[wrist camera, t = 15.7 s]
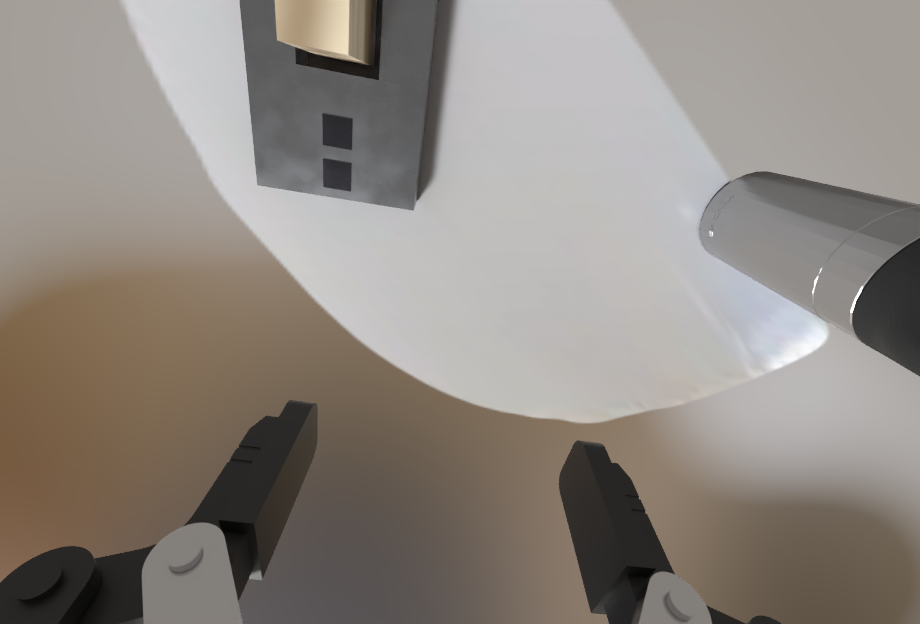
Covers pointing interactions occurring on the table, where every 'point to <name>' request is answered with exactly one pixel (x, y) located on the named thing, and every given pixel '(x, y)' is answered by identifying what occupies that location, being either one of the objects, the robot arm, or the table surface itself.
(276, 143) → the metal socket plate
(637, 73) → the table surface
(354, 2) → the maple block
